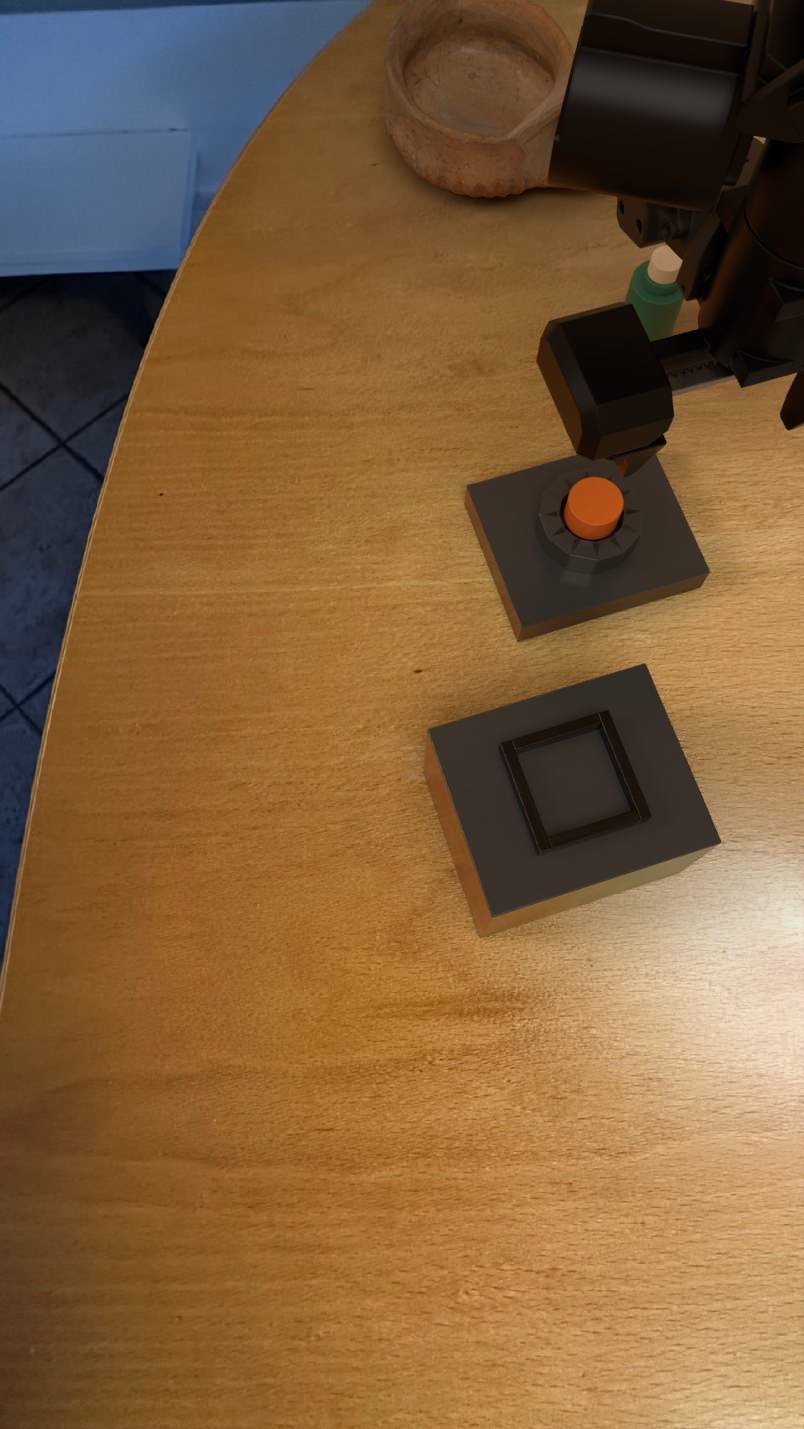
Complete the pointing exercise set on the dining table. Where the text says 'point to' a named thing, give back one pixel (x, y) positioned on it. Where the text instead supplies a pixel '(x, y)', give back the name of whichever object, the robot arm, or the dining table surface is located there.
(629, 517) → the control
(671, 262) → the bottle
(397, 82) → the bowl
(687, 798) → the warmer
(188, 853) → the dining table surface
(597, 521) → the button
